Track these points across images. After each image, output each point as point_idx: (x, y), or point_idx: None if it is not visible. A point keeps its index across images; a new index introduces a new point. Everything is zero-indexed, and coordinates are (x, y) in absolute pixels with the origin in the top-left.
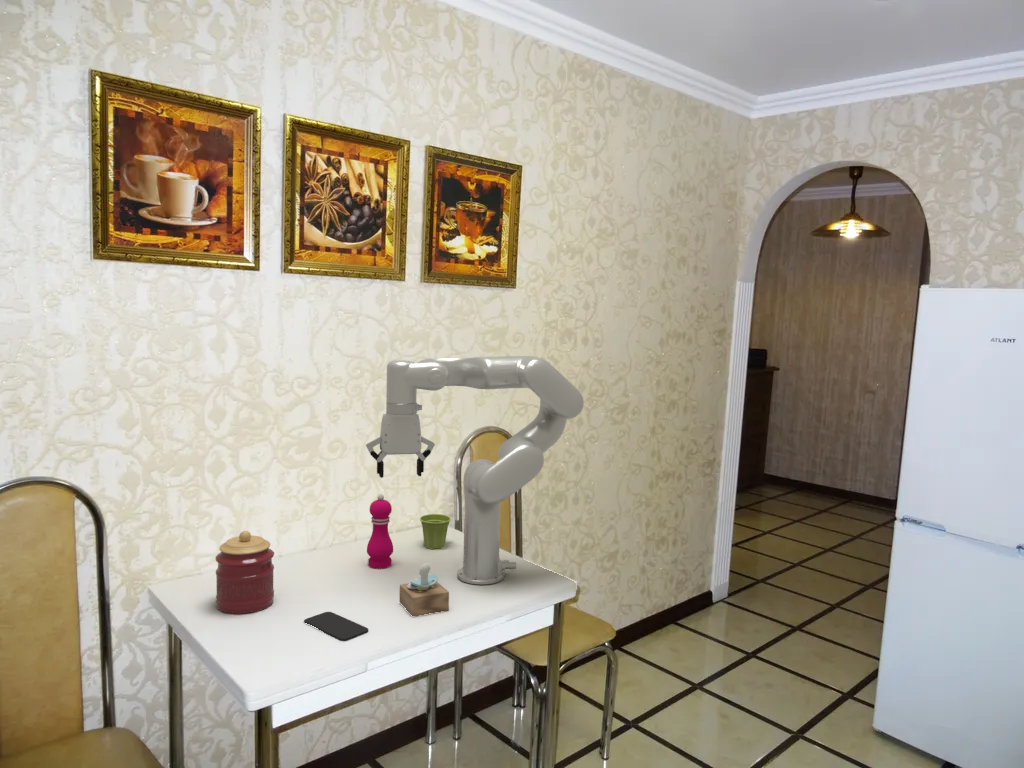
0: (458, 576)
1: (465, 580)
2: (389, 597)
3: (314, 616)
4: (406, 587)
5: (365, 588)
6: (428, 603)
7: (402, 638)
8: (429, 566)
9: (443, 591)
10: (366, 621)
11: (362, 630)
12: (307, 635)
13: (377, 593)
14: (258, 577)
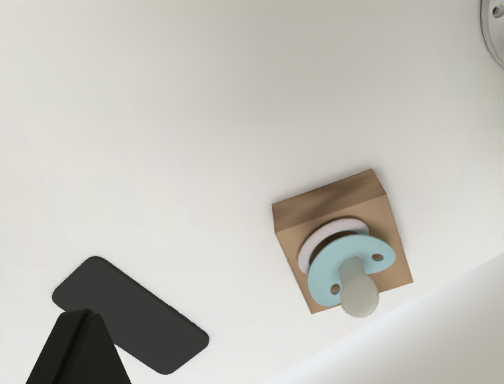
0: (484, 21)
1: (498, 61)
2: (241, 167)
3: (69, 282)
4: (295, 252)
5: (158, 95)
6: None
7: (282, 364)
8: (377, 304)
9: (398, 279)
10: (198, 298)
11: (197, 345)
12: None
13: (202, 136)
14: None
